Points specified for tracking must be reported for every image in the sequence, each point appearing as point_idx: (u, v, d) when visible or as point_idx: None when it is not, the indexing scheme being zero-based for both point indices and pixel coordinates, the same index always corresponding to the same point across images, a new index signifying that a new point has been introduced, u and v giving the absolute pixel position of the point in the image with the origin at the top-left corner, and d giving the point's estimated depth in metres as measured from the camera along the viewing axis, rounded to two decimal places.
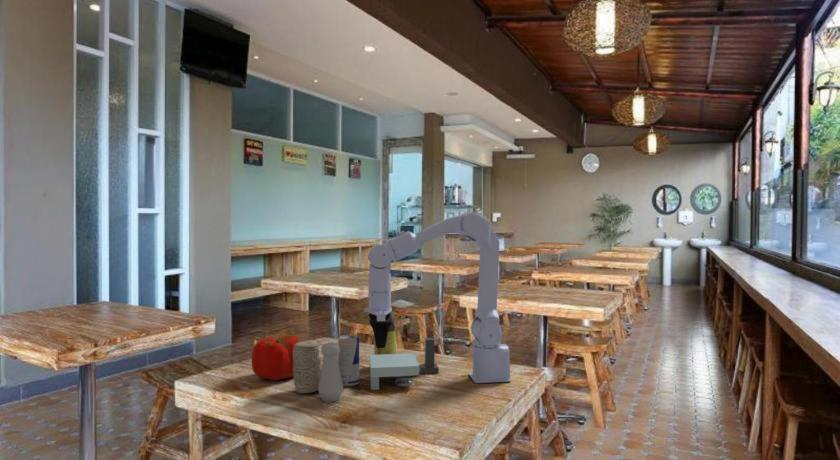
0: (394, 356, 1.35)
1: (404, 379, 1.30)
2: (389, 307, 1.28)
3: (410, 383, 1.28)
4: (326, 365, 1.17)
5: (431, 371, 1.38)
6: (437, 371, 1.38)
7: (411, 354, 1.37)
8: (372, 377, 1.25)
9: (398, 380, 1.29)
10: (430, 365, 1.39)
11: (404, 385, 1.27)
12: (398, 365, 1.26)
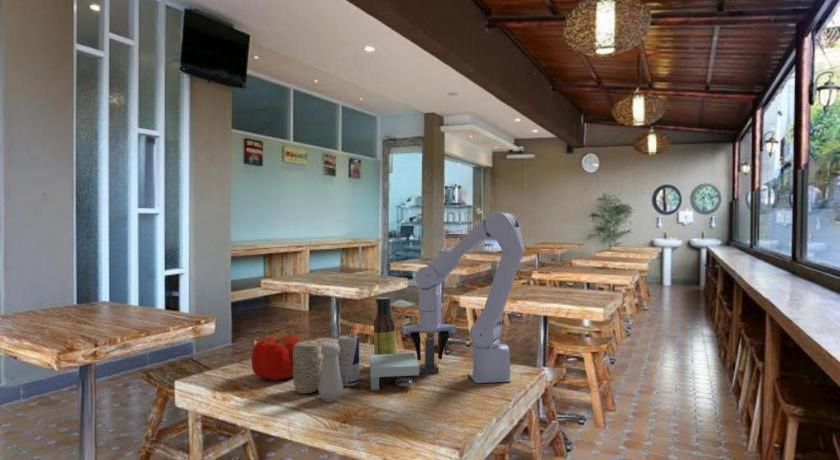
0: (394, 356, 1.35)
1: (404, 379, 1.30)
2: (425, 326, 1.37)
3: (410, 383, 1.28)
4: (326, 365, 1.17)
5: (431, 371, 1.38)
6: (437, 371, 1.38)
7: (411, 354, 1.37)
8: (372, 377, 1.25)
9: (398, 380, 1.29)
10: (430, 365, 1.39)
11: (404, 385, 1.27)
12: (398, 365, 1.26)
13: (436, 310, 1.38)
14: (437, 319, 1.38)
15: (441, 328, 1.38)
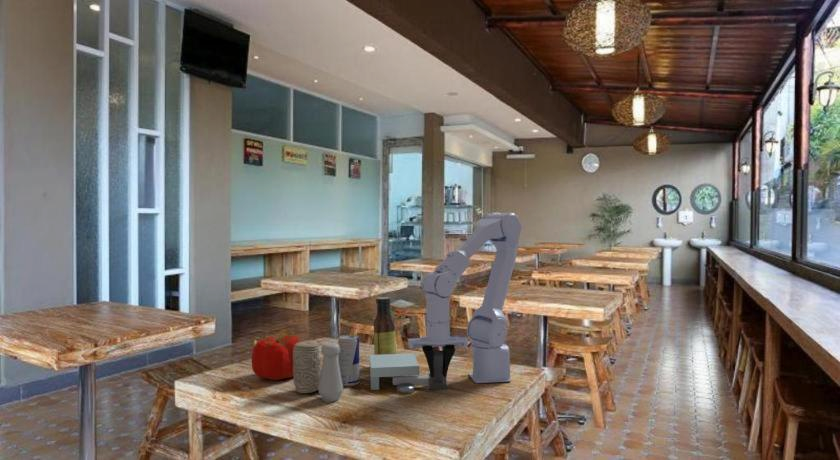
0: (394, 356, 1.35)
1: (406, 384, 1.25)
2: (433, 339, 1.22)
3: (411, 389, 1.22)
4: (326, 365, 1.17)
5: (438, 387, 1.25)
6: (445, 387, 1.25)
7: (411, 354, 1.37)
8: (372, 377, 1.25)
9: (400, 385, 1.24)
10: (438, 380, 1.25)
11: (405, 391, 1.22)
12: (398, 365, 1.26)
13: None
14: (447, 331, 1.22)
15: (451, 341, 1.22)
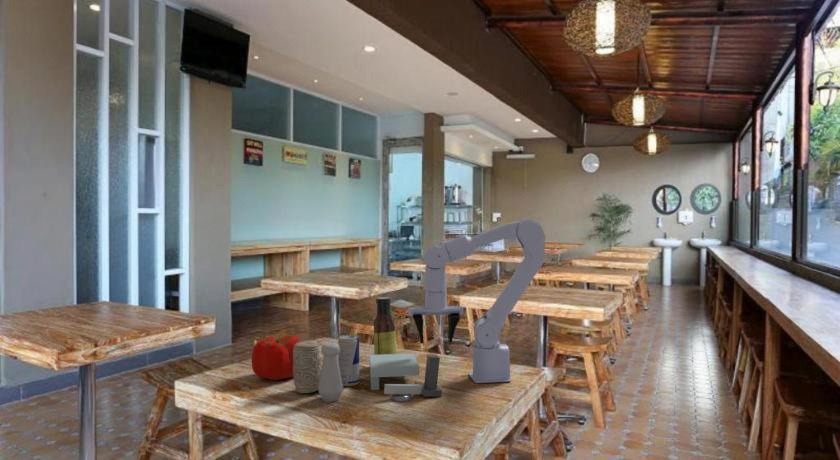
0: (394, 356, 1.35)
1: None
2: (431, 307, 1.32)
3: (407, 398, 1.17)
4: (326, 365, 1.17)
5: (433, 394, 1.19)
6: (440, 394, 1.20)
7: (411, 354, 1.37)
8: (372, 377, 1.25)
9: (395, 394, 1.19)
10: (432, 387, 1.20)
11: (401, 400, 1.16)
12: (398, 365, 1.26)
13: (445, 290, 1.33)
14: (444, 300, 1.32)
15: (448, 310, 1.33)
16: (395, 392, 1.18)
